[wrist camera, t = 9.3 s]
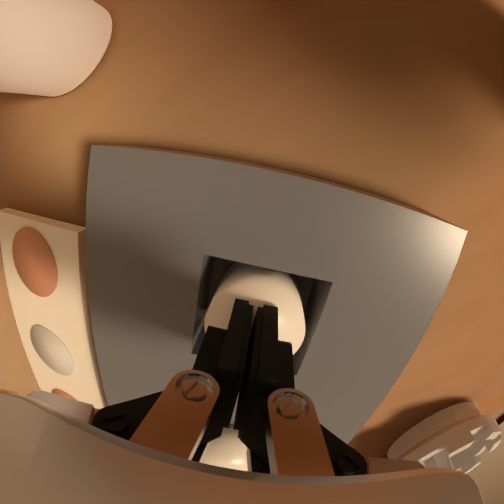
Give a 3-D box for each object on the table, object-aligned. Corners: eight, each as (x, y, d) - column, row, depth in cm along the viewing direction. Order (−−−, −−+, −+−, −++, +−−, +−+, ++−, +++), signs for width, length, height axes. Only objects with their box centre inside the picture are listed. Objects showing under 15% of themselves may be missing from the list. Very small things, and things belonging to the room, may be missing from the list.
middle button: (197, 406, 15) (185, 446, 12) (261, 419, 15) (258, 461, 12) (194, 436, 16) (184, 471, 13) (248, 447, 16) (244, 483, 13)
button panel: (130, 144, 12) (91, 144, 9) (430, 213, 12) (467, 231, 9) (143, 458, 23) (134, 481, 20) (278, 487, 23) (277, 510, 20)
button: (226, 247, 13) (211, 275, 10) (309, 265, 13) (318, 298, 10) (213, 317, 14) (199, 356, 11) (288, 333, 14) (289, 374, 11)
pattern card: (6, 207, 14) (-4, 211, 13) (87, 227, 14) (75, 233, 13) (52, 399, 22) (47, 406, 21) (117, 432, 22) (113, 440, 21)
